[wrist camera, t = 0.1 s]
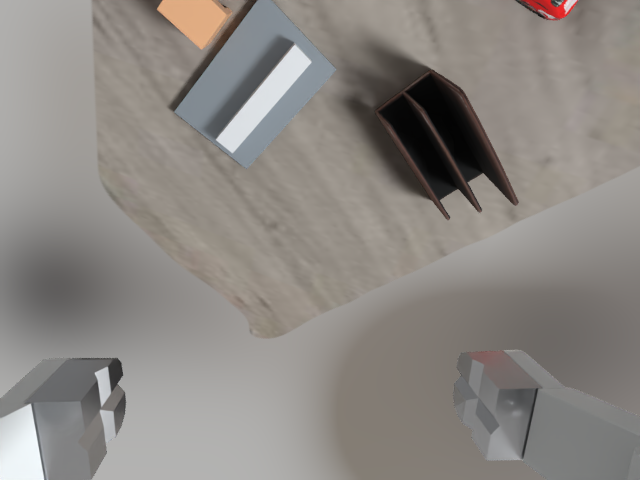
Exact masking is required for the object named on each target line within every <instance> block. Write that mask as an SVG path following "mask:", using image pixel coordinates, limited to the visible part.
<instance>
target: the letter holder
mask: <svg viewBox="0 0 640 480" xmlns="http://www.w3.org/2000/svg"><path fill="white" fill-rule="evenodd" d="M375 114H376V115H377V116H378V118H379V119H380V121H381V122H382V124H383V126H384V127H385V129H386V130H387V132H388V133H389V135H390V137H391V138H392V140H393V141H394V143H395V144H396V146H397V147H398V149H399V151H400V152H401V153H402V155H403V156H404V158H405V160H406V161H407V163H408V164H409V166H410V168H411V169H412V171H413V172H414V174H415V175H416V177H417V178H418V180H419V181H420V183H421V185H422V186H423V187H424V189H425V191H426V192H427V194H428V195H429V197H430V199H431V200H432V201H433V202H434V204H435V205H436V206H437V208H438V209H439V210H440V211H441V213H442V214H443V215H444V216H445V218H446V219H447V220H450V216H449V215H448V213H447V212H446V210H445V209H444V207H443V205H442V204H441V202H440V200H441V199H442V198H444V197H445V196H447V195H448V194H450V193H452V192H453V191H455V190H457V189H459V190H460V191H461V192H462V193H463V195H464V196H465V197H466V198H467V199H468V200H469V202H470V203H471V204H472V205H473V206H474V207H475V209H476V210H477V211H478V212H479V213H480V212H482V209H481V207H480V205H479V203H478V201H477V199H476V198H475V196H474V194H473V192H472V190H471V188H470V186H469V185H468V183H467V182H469V181H471V180H472V179H474V178H476V177H477V176H479V175H481V174H482V173H484V174H485V175H486V176H487V177H488V178H489V180H490V181H491V182H492V183H493V184H494V185H495V186H496V187H497V188H498V189H499V190H500V191H501V192H502V193H503V194H504V195H505V197H506V198H507V199H509V200H510V202H511V203H512V204H514V205H515V206H516V205H518V203H519V201H518V199H517V197H516V195H515V193H514V191H513V188H512V186H511V184H510V182H509V179H508V178H507V175H506V173H505V171H504V169H503V167H502V165H501V162H500V160H499V158H498V156H497V154H496V152H495V151H494V148H493V147H492V144H491V142H490V140H489V138H488V136H487V134H486V133H485V130H484V129H483V126H482V125H481V123H480V120H479V118H478V117H477V115H476V113H475V111H474V109H473V107H472V106H471V104H470V102H469V100H468V98H467V96H466V94H465V93H464V91H463V90H462V89H461V88H460V87H458V86H457V85H456V84H454V83H453V82H451V81H450V80H448V79H446V78H445V77H444V76H442V75H440V74H438V73H437V72H435V71H434V70H429V71H428V72H426V73H425V74H424V75H422V76H421V77H420V78H418V79H417V80H415V81H414V82H413V83H412V84H410V85H409V86H407V87H406V88H405V89H403V90H402V91H401V92H399V93H398V94H397V95H395V96H394V97H393V98H391V99H390V100H389V101H387V102H386V103H384V104H383V105H382V106H381V107H379V108H378V109H377V110H376V111H375Z"/></svg>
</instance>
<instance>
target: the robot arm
mask: <svg viewBox="0 0 640 480" xmlns="http://www.w3.org/2000/svg"><path fill="white" fill-rule="evenodd" d="M457 369H458V371H459V372H460V374H461V376H460V378H459V379H458V380H457V381H456V382H455V383H454V391H453V399H454V406H455V409H456V412H457V415H458V417H459V418H460V420H461V422H462V423H463V424H464V425H466V426H467V427H469V428H471V429H472V430H473V432H472V439H473V440H474V442H475V444H476V445H477V446H478V448H479V450H480V451H481V453H482V454H483V456H484V458H485V459H486V460H523V462H524V463H525V464H527V465H528V466H529V467H531V468H532V469H534V470H535V471H536V472H538V473H539V474H540V475H541V476H543V477H544V478H545V479H547V480H640V416H638V415H636V414H634V413H631V412H629V411H626V410H624V409H621V408H619V407H617V406H614V405H612V404H610V403H607V402H605V401H603V400H600V399H597V398H595V397H593V396H591V395H588V394H586V393H583V392H581V391H579V390H576V389H573V388H566V387H564V386H563V385H562V384H561V383H560V382H559V381H557V380H556V379H555V378H554V377H552V375H550V374H549V373H548V372H547V371H546V370H545V369H543V368H542V367H541V366H540V365H539V364H538V363H536V362H535V361H534V360H533V359H532V358H531V357H530V356H528V355H527V354H526V353H525V352H524V351H521V350H505V351H485V352H464V353H461V354H460V356H459V358H458V362H457ZM122 376H123V370H122V363H121V361H120V360H119V359H118V358H51V359H50V358H49V359H45V360H42V361H41V362H40V363H39V364H38V365H37V366H36V367H35V368H34V369H32V370H31V371H30V372H29V373H28V374H27V375H26V376H25V377H24V378H22V379H21V380H20V381H19V382H18V383H17V384H16V385H15V386H14V387H13V388H12V389H10V390H9V391H8V392H7V393H6V394H5V395H4V396H3V397H2V398H0V480H91V479H92V478H93V476H94V474H95V473H96V471H97V469H98V467H99V465H100V464H101V462H102V460H103V459H104V457H105V455H106V453H107V451H106V443H107V442H109V441H110V440H112V439H113V438H115V437H116V436H117V433H118V431H119V430H120V428H121V426H122V422H123V419H124V415H125V408H126V398H125V392H124V391H123V390H122V388H121V387H120V386H119V385H118V382H119V381H120V379H121V378H122Z"/></svg>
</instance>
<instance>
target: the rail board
mask: <svg viewBox="0 0 640 480" xmlns="http://www.w3.org/2000/svg"><path fill="white" fill-rule="evenodd" d="M335 71H336V68H335V67H334V66H333V65H332V64H331V63H330V62H329V61H328V60H327V59H326V58H325V57H324V56H323V54H322V53H321V52H320V51H319V50H318V49H317V48H316V47H315V46H314V45H313V44H312V43H311V42H310V41H309V40H308V38H307V37H306V36H305V35H304V34H303V33H302V32H301V31H300V30H299V29H298V28H297V27H296V26H295V25H294V24H293V22H292V21H291V20H290V19H289V18H288V17H287V16H286V15H285V14H284V13H283V12H282V11H281V10H280V9H279V8H278V6H277V5H276V4H275V3H274V2H273V1H272V0H257V2H256V3H255V4H254V6H253V7H252V8H251V10H250V11H249V12H248V14H247V15H246V16H245V18H244V19H243V20H242V22H241V23H240V24H239V26H238V27H237V28H236V30H235V31H234V33H233V34H232V35H231V37H230V38H229V39H228V41H227V42H226V43H225V45H224V46H223V47H222V49H221V50H220V51H219V53H218V54H217V55H216V57H215V58H214V59H213V61H212V62H211V63H210V65H209V66H208V67H207V69H206V70H205V71H204V73H203V74H202V75H201V77H200V78H199V79H198V81H197V82H196V83H195V85H194V86H193V87H192V89H191V90H190V91H189V93H188V94H187V95H186V97H185V98H184V99H183V101H182V102H181V103H180V105H179V106H178V107H177V109H176V110H175V111H174V112H175V113H176V114H177V115H178V116H180V117H181V118H182V119H183V120H185V121H186V122H187V123H189V124H190V125H191V126H192V127H194V128H195V129H196V130H197V131H199V132H200V133H201V134H202V135H204V136H205V137H206V138H208V139H209V140H210V141H211V142H213V143H214V144H215V145H216V146H218V147H219V148H220V149H222V150H223V151H224V152H225V153H227V154H228V155H229V156H230V157H232V158H233V159H234V160H236V161H237V162H238V163H239V164H241V165H242V166H243V167H244V168H246V169H247V168H248V167H249V166H250V165H251V164H252V163H253V162H254V160H255V159H256V158H257V157H258V156H259V155H260V154H261V153H262V152H263V151H264V149H265V148H266V147H267V146H268V145H269V144H270V143H271V142H272V141H273V139H274V138H275V137H276V136H277V135H278V134H279V133H280V132H281V131H282V129H283V128H284V127H285V126H286V125H287V124H288V123H289V122H290V121H291V120H292V118H293V117H294V116H295V115H296V114H297V113H298V112H299V111H300V110H301V108H302V107H303V106H304V105H305V104H306V103H307V102H308V101H309V100H310V98H311V97H312V96H313V95H314V94H315V93H316V92H317V91H318V90H319V88H320V87H321V86H322V85H323V84H324V83H325V82H326V81H327V80H328V79H329V77H330V76H331V75H332V74H333V73H334V72H335Z"/></svg>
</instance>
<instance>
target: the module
mask: <svg viewBox="0 0 640 480" xmlns="http://www.w3.org/2000/svg"><path fill="white" fill-rule="evenodd" d="M157 10H158V11H159V12H160V13H161V14H163V15H164V16H165V17H166V18H167V19H168V20H169V21H170V22H171V23H173V24H174V25H175V26H176V27H177V28H178V29H179V30H180V31H181V32H183V33H184V34H185V35H186V36H187V37H188V38H189V39H190V40H191V41H193V42H194V43H195V44H196V45H197V46H198V47H199V48H200V49H201V50H202V49H203V48H205V47H206V46H207V45H209V44H210V43H211V41H212V40H213V39H214V37H215V36H216V34H217V33H218V32H219V30H220V29H221V28H222V26H223V25H224V23H225V22H226V21H227V19H228V18H229V17H230V15H231V14H232V13H233V12H232V11H231V10H230V9H229V8H228V7H227V8H224V7H223V6H222V5H221V4H220V3H219V2H218V1H217V0H163V1H162V2H161V4H160V5H159V7H158V8H157Z"/></svg>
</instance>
